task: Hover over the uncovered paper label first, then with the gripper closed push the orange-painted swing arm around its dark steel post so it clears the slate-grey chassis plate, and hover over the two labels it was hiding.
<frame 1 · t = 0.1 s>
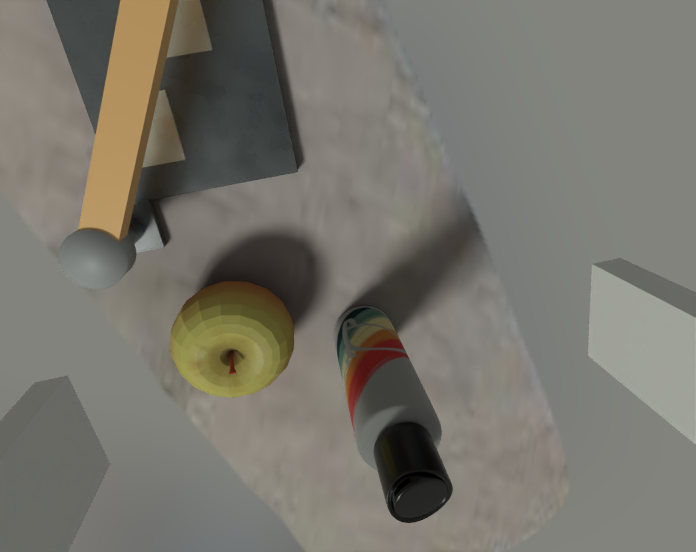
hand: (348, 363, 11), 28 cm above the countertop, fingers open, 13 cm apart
chassis plate: (174, 50, 32), on the countertop
post: (134, 226, 36), on the countertop
apple: (238, 317, 41), on the countertop
lotion bottle: (362, 330, 43), on the countertop
cable arm: (128, 108, 27), point 8 cm above the countertop, hinge at 0.0°
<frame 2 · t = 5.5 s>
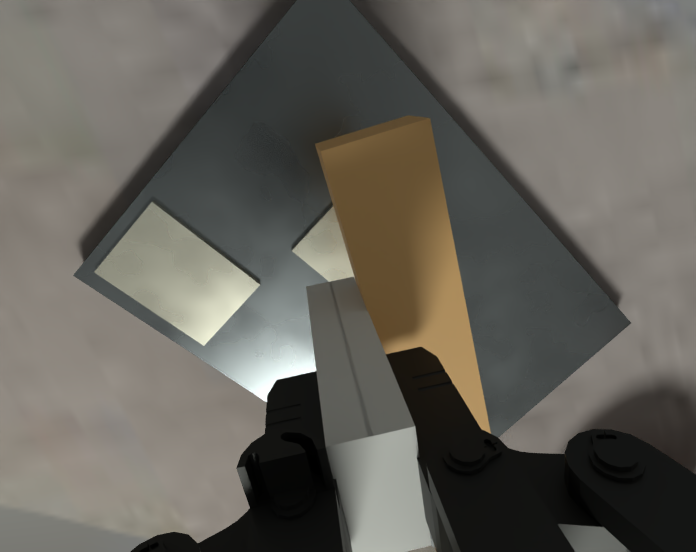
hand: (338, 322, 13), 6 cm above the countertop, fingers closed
chassis plate: (379, 292, 20), on the countertop
cable arm: (457, 491, 15), point 8 cm above the countertop, hinge at -0.7°, touching gripper
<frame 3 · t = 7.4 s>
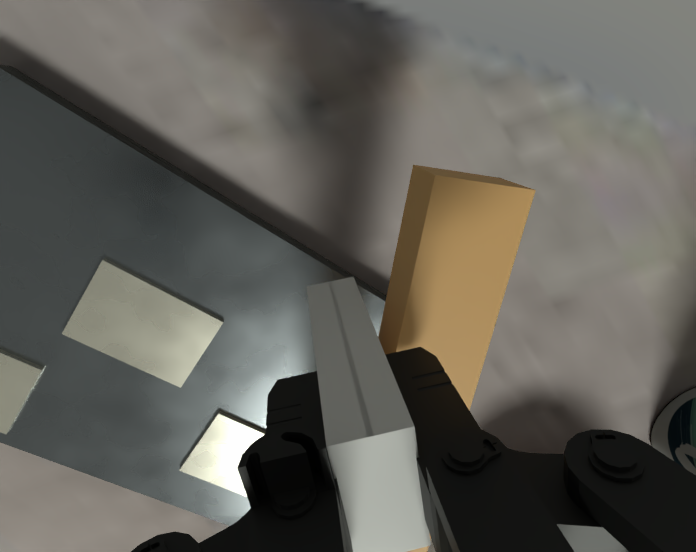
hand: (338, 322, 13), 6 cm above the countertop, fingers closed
chassis plate: (184, 353, 20), on the countertop
lotion bottle: (691, 421, 25), on the countertop
cable arm: (381, 535, 15), point 8 cm above the countertop, hinge at -34.4°, touching gripper
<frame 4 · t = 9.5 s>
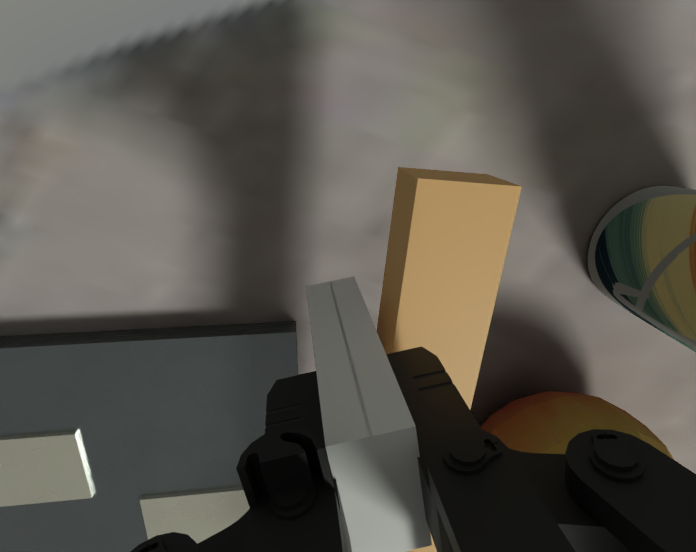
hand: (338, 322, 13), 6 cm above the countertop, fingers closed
chassis plate: (87, 465, 21), on the countertop
apple: (521, 438, 24), on the countertop
lotion bottle: (638, 243, 21), on the countertop
cable arm: (392, 536, 15), point 8 cm above the countertop, hinge at -65.0°, touching gripper
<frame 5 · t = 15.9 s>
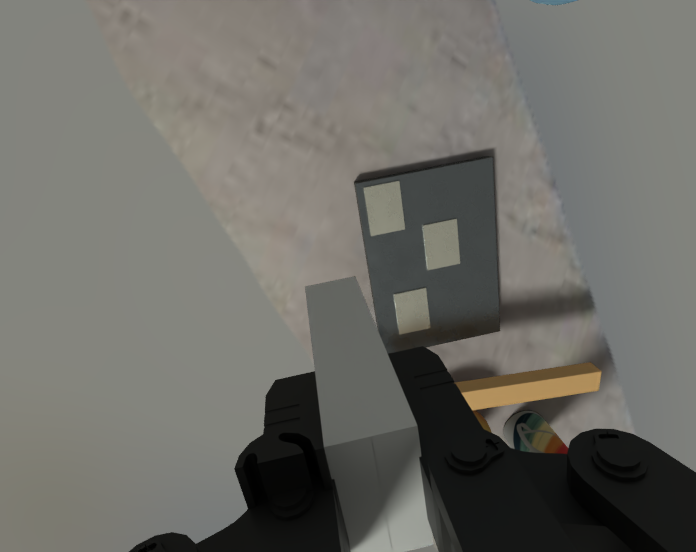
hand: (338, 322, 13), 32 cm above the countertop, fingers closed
chassis plate: (431, 260, 49), on the countertop
lotion bottle: (521, 426, 59), on the countertop
cable arm: (489, 392, 47), point 7 cm above the countertop, hinge at -65.0°
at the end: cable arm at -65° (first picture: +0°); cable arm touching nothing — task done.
